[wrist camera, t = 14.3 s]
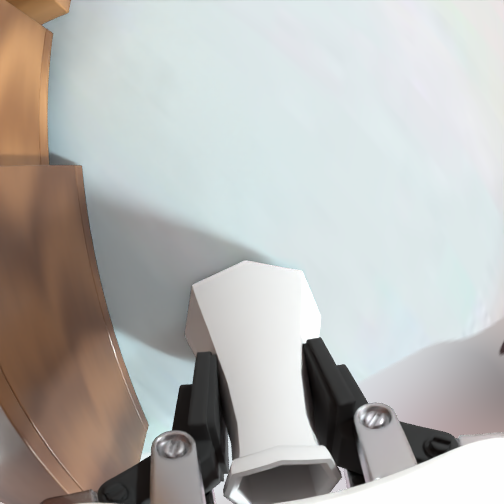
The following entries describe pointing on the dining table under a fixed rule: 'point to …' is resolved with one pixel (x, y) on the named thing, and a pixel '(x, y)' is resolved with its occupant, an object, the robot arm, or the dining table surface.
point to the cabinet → (57, 346)
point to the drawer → (25, 79)
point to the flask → (263, 379)
